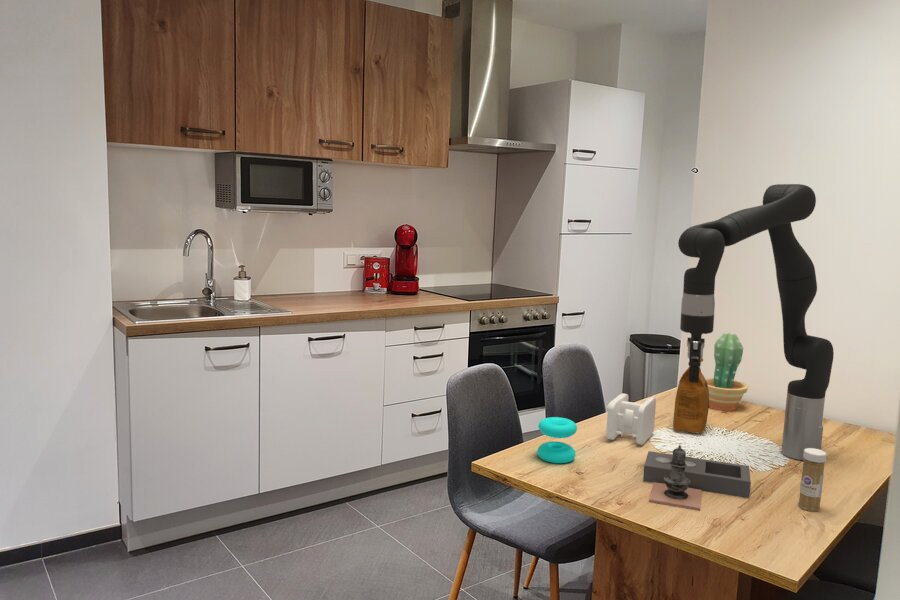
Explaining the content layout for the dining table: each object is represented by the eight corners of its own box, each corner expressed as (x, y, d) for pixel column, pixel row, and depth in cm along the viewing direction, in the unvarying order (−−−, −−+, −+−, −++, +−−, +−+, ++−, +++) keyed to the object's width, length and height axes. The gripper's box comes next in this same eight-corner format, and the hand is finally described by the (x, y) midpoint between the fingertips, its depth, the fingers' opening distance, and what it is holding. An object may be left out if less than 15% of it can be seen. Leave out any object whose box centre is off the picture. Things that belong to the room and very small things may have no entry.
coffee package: (711, 426, 219) (717, 356, 216) (702, 437, 208) (708, 364, 205) (678, 420, 224) (684, 352, 221) (668, 431, 213) (673, 359, 210)
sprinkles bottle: (795, 507, 162) (801, 450, 160) (801, 501, 165) (806, 445, 163) (817, 513, 159) (823, 456, 157) (822, 507, 162) (828, 450, 160)
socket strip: (747, 481, 176) (749, 465, 176) (749, 498, 166) (750, 481, 165) (647, 465, 184) (648, 450, 184) (643, 481, 174) (644, 464, 174)
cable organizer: (640, 449, 197) (643, 408, 195) (603, 442, 202) (606, 402, 200) (654, 434, 210) (657, 396, 208) (619, 428, 215) (621, 390, 213)
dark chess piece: (690, 501, 162) (694, 450, 160) (663, 498, 163) (667, 447, 161) (687, 490, 168) (691, 441, 166) (661, 488, 169) (665, 439, 167)
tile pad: (701, 492, 169) (701, 489, 169) (699, 510, 158) (700, 508, 158) (653, 484, 172) (653, 482, 172) (648, 501, 162) (648, 499, 162)
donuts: (532, 422, 185) (548, 413, 194) (530, 459, 187) (547, 448, 195) (567, 430, 180) (583, 420, 188) (565, 468, 181) (581, 456, 190)
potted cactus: (754, 407, 241) (760, 334, 238) (735, 416, 230) (742, 340, 226) (709, 397, 252) (715, 328, 248) (690, 406, 240) (696, 333, 237)
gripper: (714, 318, 162) (710, 387, 165) (714, 308, 176) (710, 372, 178) (680, 316, 165) (676, 384, 167) (682, 306, 178) (678, 369, 181)
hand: (693, 377), depth 173 cm, fingers open, 8 cm apart
